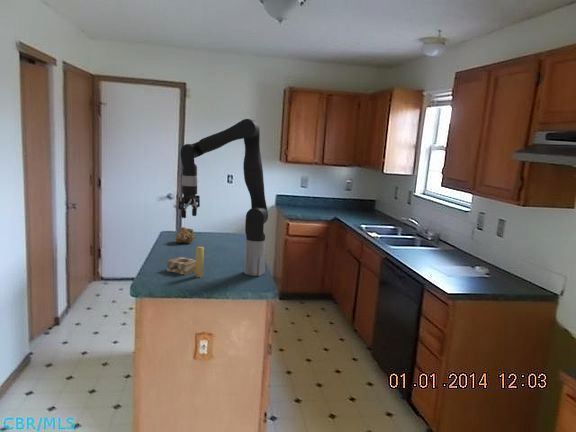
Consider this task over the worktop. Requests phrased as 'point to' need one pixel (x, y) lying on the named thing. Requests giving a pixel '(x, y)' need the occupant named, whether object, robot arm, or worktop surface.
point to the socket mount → (181, 265)
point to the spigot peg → (199, 261)
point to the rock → (185, 235)
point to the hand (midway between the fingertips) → (189, 216)
